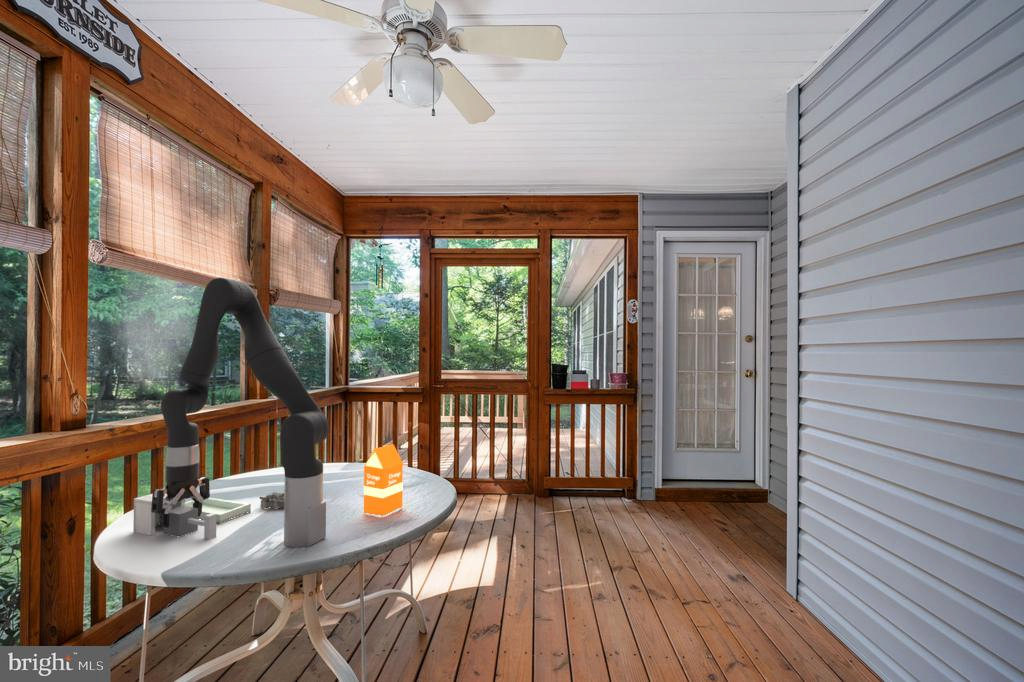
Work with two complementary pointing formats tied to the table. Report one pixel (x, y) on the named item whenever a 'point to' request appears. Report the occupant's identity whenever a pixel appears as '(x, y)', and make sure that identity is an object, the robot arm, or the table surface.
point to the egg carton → (273, 500)
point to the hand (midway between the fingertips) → (181, 521)
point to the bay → (147, 514)
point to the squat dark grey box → (190, 522)
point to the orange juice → (383, 481)
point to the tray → (221, 508)
